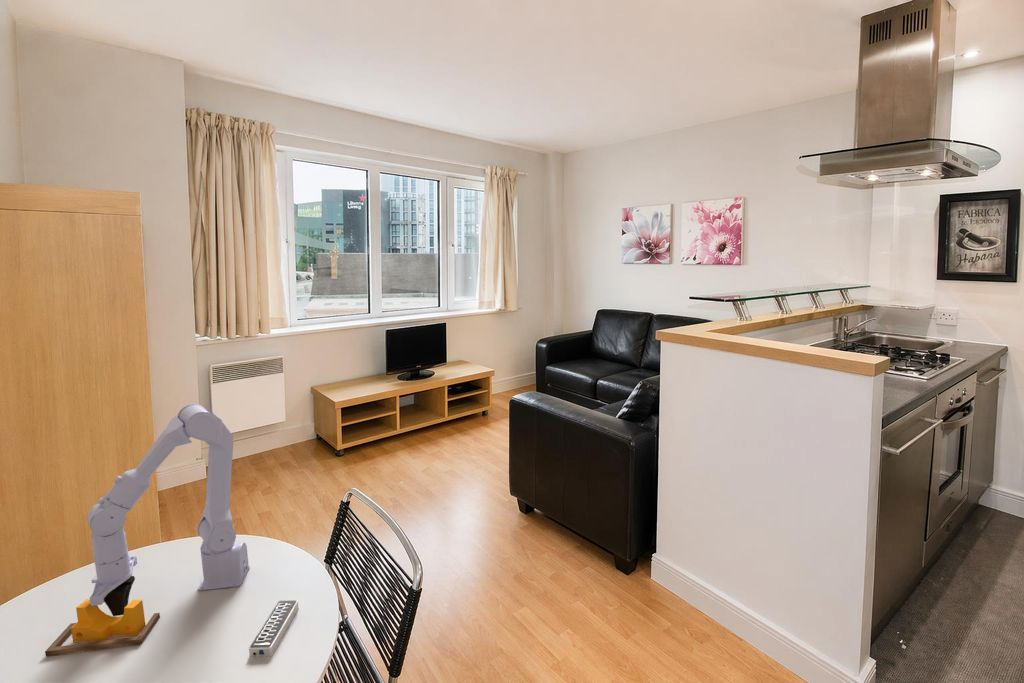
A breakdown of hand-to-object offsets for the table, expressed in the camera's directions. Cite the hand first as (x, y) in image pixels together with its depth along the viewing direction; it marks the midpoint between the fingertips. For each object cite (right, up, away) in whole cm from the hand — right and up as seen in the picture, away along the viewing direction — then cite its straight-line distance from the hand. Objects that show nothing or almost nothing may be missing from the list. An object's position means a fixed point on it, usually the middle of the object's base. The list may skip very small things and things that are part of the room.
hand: (119, 613), depth 112 cm
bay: (+1, -2, -5) cm, 6 cm away
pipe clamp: (+1, -2, -4) cm, 5 cm away
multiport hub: (+36, -2, -3) cm, 36 cm away
